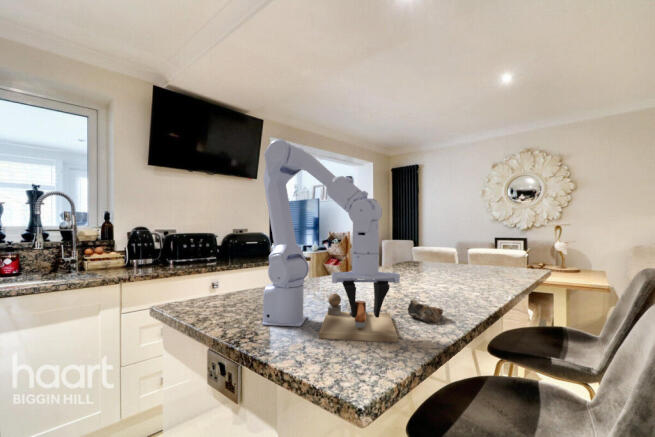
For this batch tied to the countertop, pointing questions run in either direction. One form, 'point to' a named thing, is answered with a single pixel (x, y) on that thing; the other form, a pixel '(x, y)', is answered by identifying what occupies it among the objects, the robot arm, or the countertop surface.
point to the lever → (360, 314)
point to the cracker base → (344, 326)
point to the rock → (424, 312)
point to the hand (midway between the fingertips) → (365, 316)
